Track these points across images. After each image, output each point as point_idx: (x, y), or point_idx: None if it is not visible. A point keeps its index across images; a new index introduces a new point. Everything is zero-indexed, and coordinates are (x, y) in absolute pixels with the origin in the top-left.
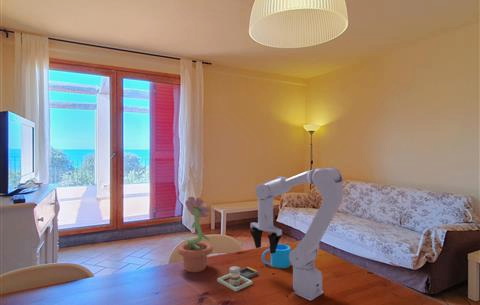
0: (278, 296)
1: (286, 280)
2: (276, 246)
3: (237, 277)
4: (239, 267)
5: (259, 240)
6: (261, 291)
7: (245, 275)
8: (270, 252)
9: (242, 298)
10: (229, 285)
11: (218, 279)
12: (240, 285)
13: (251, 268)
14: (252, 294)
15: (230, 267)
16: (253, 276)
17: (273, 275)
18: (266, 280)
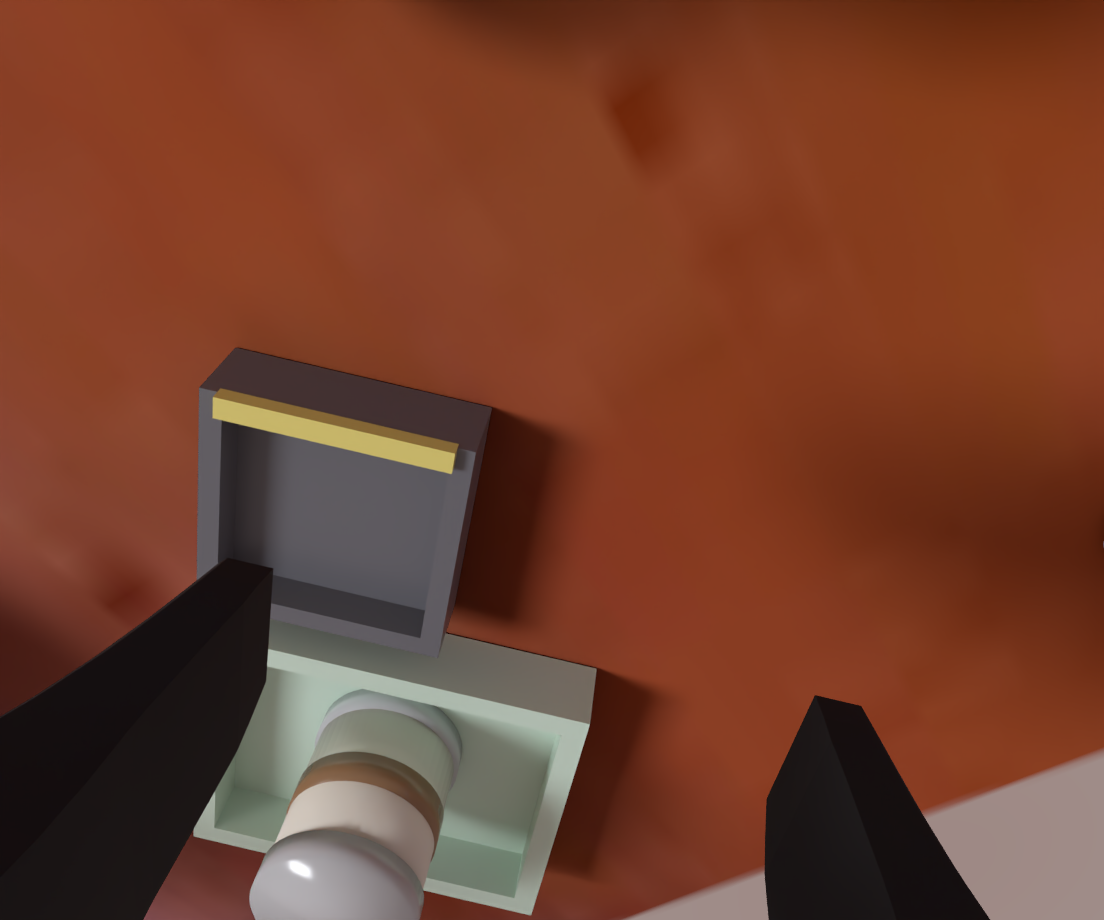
0: (1013, 708)
1: (988, 246)
2: (933, 858)
3: (431, 856)
4: (356, 872)
5: (166, 754)
6: (760, 703)
7: (403, 641)
8: (768, 821)
9: (650, 880)
10: (427, 888)
11: (219, 837)
12: (534, 855)
13: (312, 422)
14: (699, 791)
15: (257, 912)
16: (468, 513)
17: (684, 196)
18: (669, 428)
